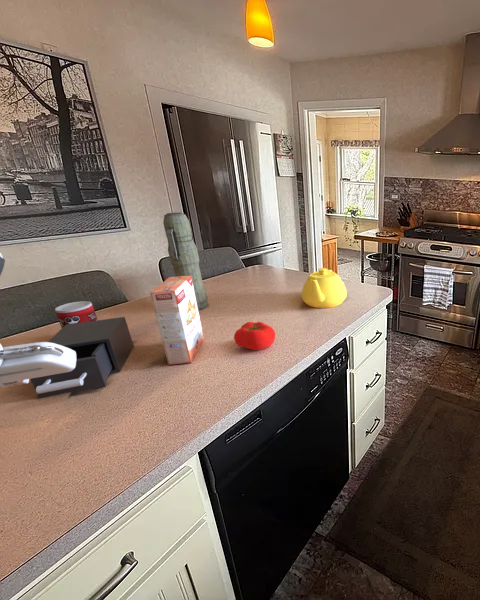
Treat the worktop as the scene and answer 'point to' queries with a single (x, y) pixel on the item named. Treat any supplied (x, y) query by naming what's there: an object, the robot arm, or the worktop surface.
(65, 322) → the canned food
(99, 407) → the worktop surface
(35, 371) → the robot arm
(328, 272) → the teapot
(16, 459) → the worktop surface
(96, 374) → the drawer
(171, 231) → the thermos
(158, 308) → the cracker box
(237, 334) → the tomato
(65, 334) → the small drawer unit
